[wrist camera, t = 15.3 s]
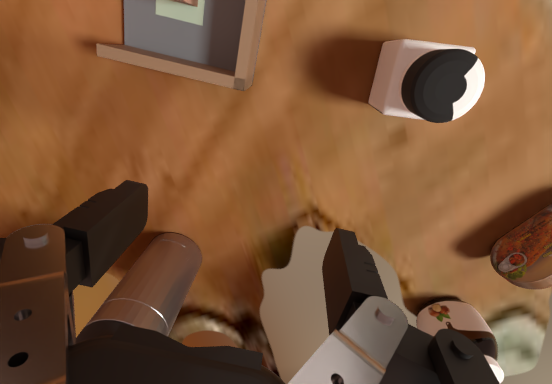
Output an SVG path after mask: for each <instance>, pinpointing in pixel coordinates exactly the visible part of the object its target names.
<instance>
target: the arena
mask: <svg viewBox="0 0 552 384" xmlns="http://www.w3.org/2000/svg"><path fill="white" fill-rule="evenodd" d="M265 6H266V0H198V7H195V6H191V5H187V4H183V3H179V2H174V1H170V0H124V40H125V45H116V44H96V46H97V56H99V57H104V58H108V59H112V60H116V61H120V62H124V63H129V64H133V65H137V66H141V67H145V68H149V69H154V70H158V71H162V72H166V73H170V74H174V75H179V76H183V77H187V78H191V79H195V80H199V81H204V82H208V83H212V84H216V85H220V86H224V87H229V88H233V89H237V90H241V91H245V90H246V89H248V88H249V87H250V86H252V82H253V76H254V70H255V64H256V59H257V53H258V47H259V41H260V35H261V29H262V23H263V18H264V12H265Z"/></svg>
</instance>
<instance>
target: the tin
mask: <svg viewBox="0 0 552 384" xmlns="http://www.w3.org/2000/svg"><path fill="white" fill-rule="evenodd" d="M490 259H491V264H492V266H493V268H494V269H495V271H496V272H497V273H498V274H499V275H501V276H502V277H504V278H505V279H506V280H507V281H509V282H510V283H512V284H514V285H516V286H519V287H522V288H526V289H544V288H548V287H551V286H552V204H550V205H549V206H547V207H545V208H544V209H543V210H541V211H540V212H538V213H537V214H535V215H534V216H532V217H531V218H529V219H528V220H526V221H525V222H523V223H522V224H521V225H519V226H518V227H516V228H514V229H513V230H511V231H510V232H509V233H507V234H506V235H504V236H503V237H501V238H500V239H499V240H498V241H497V242H496V243H495V245H494V246H493V248H492V250H491V255H490Z"/></svg>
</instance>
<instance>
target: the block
mask: <svg viewBox="0 0 552 384" xmlns="http://www.w3.org/2000/svg"><path fill="white" fill-rule="evenodd" d="M170 1H174V2H179V3H183V4H187V5H191V6H195V7H198V0H170Z"/></svg>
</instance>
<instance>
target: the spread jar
mask: <svg viewBox="0 0 552 384" xmlns="http://www.w3.org/2000/svg"><path fill="white" fill-rule="evenodd" d="M417 329H419V330H421V331H423V332H425V333H428V334H430V335H432V336H435V334H436V333H437V332H438V330H440V329H451V330H454V331H457V332H459V333H461V334H463V335H464V336H466V337H467V338H468V339H470V340H471V341H472V342H473V343H474V344H475V345H476V346H477V347H478V348H479V349H480V350H481V352H482V353H483V355H484V356H485V358H486V360H487V362H488V363H489V365H490V367H491V369H492V371H493V372H494V374H495V376H496V378H497V380H498V381H499V383H501V382H502V381H503V378H504V373H503V371H502V369H501V367H500V366H499V364H498V363H497V359H498V346H497V342H496V339H495V337H494V335H493V333H492V331H491V329H490V328H489V326H488V325H487V323H486V322H485V321H484V319H483V318H482V316H481V315H480V314H479V312H478V311H477V310H476V309H475V308H474V307H473V306H471V305H470V304H468V303H466V302H464V301H461V300H457V299H452V298H439V299H435V300H432V301H430V302H428V303H427V304H425V305H424V306H423V307H422V308H421V309H420V311H419V312H418V315H417Z"/></svg>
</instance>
